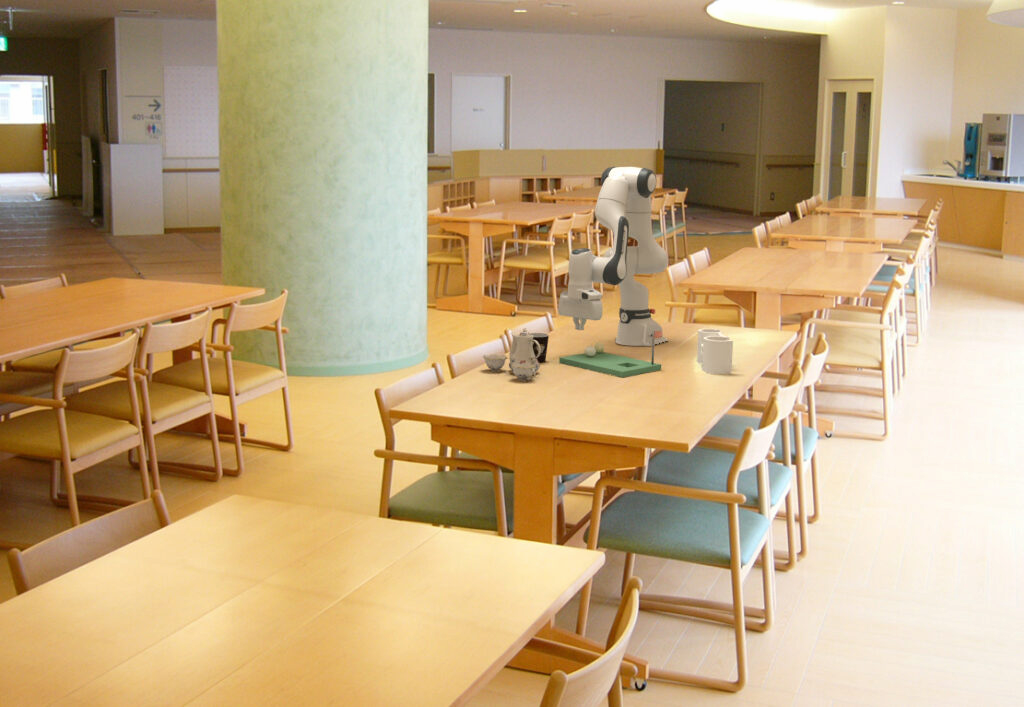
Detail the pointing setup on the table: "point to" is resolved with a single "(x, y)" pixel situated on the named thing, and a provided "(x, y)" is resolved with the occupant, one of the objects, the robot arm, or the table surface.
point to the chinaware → (518, 357)
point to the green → (610, 364)
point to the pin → (654, 335)
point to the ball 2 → (599, 347)
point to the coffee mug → (543, 342)
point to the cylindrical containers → (714, 351)
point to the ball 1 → (590, 351)
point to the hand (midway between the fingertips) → (579, 329)
